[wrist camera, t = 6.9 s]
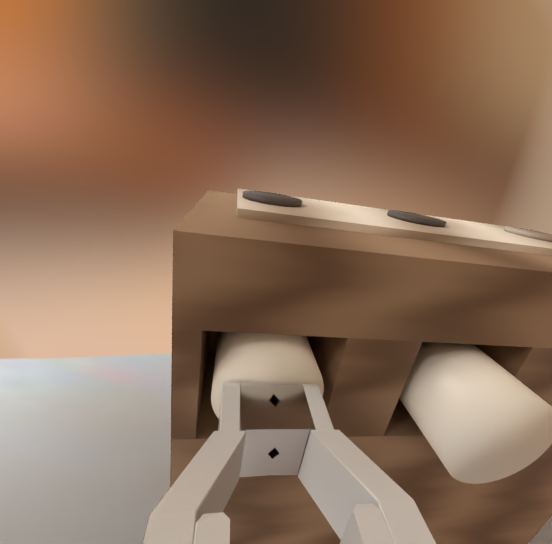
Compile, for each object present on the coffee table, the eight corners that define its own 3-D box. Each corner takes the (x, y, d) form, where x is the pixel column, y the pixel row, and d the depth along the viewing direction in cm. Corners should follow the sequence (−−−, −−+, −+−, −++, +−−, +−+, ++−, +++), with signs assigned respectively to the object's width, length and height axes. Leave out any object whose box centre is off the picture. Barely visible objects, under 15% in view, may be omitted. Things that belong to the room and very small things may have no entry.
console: (168, 615, 14) (173, 209, 6) (193, 450, 22) (208, 180, 14) (500, 574, 17) (756, 281, 10) (419, 445, 25) (527, 226, 18)
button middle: (429, 486, 9) (476, 401, 7) (372, 388, 12) (397, 319, 11) (523, 481, 9) (583, 402, 8) (442, 389, 13) (473, 324, 12)
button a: (207, 436, 9) (214, 347, 8) (216, 355, 13) (222, 286, 11) (311, 434, 10) (334, 352, 8) (291, 358, 13) (305, 292, 12)
